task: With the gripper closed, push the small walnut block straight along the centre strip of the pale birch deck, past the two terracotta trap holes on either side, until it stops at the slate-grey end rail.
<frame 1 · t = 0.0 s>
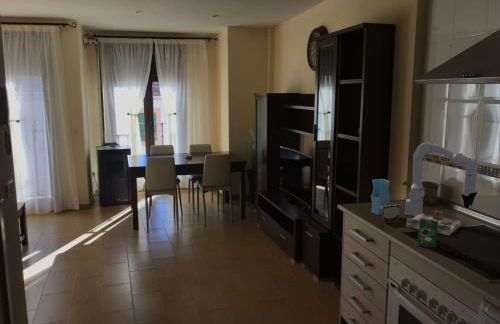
hand: (468, 206, 231), 10 cm above the worktop, tool pointing down, fingers open, 7 cm apart
food container: (387, 221, 238), on the worktop
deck: (433, 226, 228), on the worktop
block: (437, 218, 234), point 2 cm above the worktop, touching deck
vase: (379, 213, 254), on the worktop
coffee box: (426, 246, 198), on the worktop
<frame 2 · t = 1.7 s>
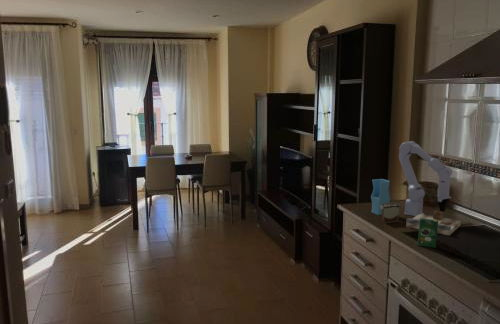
hand: (442, 211, 239), 5 cm above the worktop, tool pointing down, fingers closed
nothing on the worktop moved.
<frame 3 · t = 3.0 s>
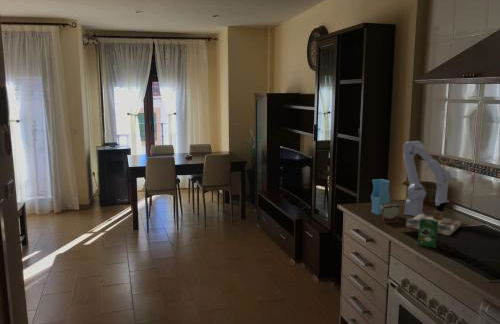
hand: (439, 215, 236), 3 cm above the worktop, tool pointing down, fingers closed
block: (437, 218, 234), point 3 cm above the worktop, touching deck, gripper
everything else where it was.
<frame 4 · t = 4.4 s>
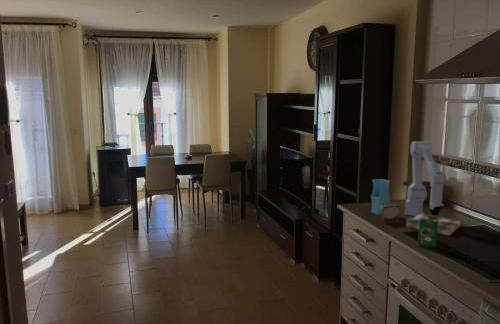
hand: (434, 219, 229), 3 cm above the worktop, tool pointing down, fingers closed
block: (432, 222, 226), point 3 cm above the worktop, touching gripper
everything else where it was.
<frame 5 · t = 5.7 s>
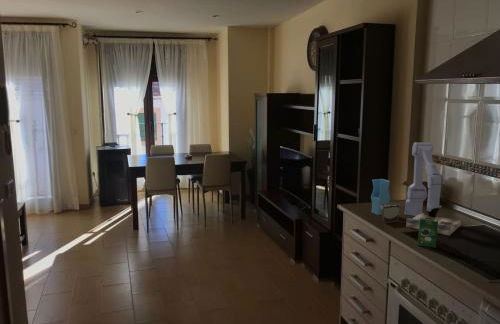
hand: (431, 221, 225), 3 cm above the worktop, tool pointing down, fingers closed
block: (429, 224, 223), point 3 cm above the worktop, touching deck, gripper
everything else where it was.
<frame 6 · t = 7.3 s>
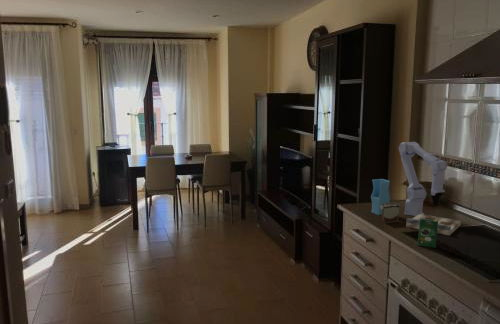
hand: (435, 205, 235), 9 cm above the worktop, tool pointing down, fingers closed
block: (429, 224, 223), point 2 cm above the worktop, touching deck
everything else where it was.
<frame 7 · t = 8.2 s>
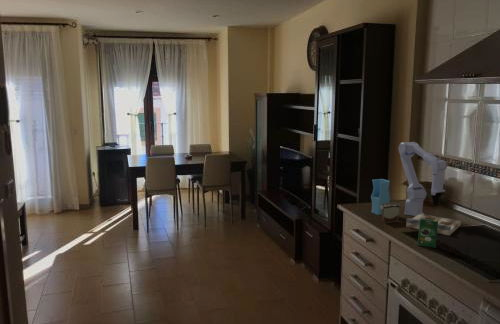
hand: (435, 205, 235), 9 cm above the worktop, tool pointing down, fingers closed
nothing on the worktop moved.
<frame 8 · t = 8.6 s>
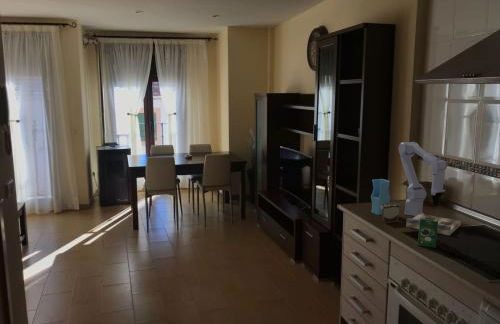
hand: (435, 205, 235), 9 cm above the worktop, tool pointing down, fingers closed
nothing on the worktop moved.
at the end: block 0.4 cm from the target spot on the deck, point 2.5 cm above the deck's base; block tilted 0°; block moved 14.4 cm from its start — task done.
